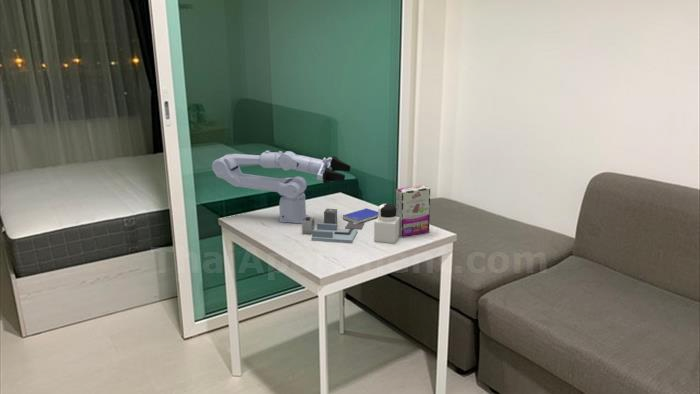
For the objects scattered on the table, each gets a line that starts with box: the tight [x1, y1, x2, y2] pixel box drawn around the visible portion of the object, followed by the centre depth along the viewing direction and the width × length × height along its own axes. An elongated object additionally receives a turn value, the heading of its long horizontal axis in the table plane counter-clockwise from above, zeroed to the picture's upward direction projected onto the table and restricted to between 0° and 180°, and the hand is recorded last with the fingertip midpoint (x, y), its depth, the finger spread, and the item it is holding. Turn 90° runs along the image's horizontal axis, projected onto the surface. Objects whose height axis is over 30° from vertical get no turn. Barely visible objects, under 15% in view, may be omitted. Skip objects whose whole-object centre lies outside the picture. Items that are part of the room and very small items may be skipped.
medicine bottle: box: [373, 203, 400, 244], centre depth 179 cm, size 7×7×12 cm
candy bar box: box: [395, 184, 431, 238], centre depth 183 cm, size 11×5×16 cm, turn 114°
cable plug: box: [301, 216, 316, 236], centre depth 186 cm, size 4×4×6 cm
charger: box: [323, 208, 338, 225], centre depth 194 cm, size 4×4×6 cm
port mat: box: [344, 221, 365, 231], centre depth 193 cm, size 6×6×1 cm
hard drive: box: [342, 208, 378, 223], centre depth 201 cm, size 2×8×12 cm
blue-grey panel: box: [310, 222, 358, 244], centre depth 184 cm, size 14×12×3 cm
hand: (347, 173), depth 190 cm, fingers open, 7 cm apart
